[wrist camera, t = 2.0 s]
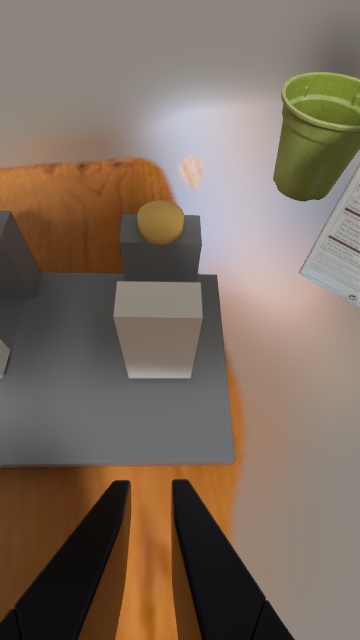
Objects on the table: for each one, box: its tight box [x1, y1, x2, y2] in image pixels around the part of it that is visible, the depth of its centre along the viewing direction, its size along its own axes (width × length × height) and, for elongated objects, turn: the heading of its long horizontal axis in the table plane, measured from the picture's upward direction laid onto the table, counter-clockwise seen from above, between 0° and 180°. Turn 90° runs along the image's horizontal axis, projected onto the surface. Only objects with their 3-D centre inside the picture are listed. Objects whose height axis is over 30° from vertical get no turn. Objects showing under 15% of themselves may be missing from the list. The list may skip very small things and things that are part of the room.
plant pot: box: [273, 72, 360, 201], centre depth 31 cm, size 9×9×9 cm
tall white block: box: [113, 281, 203, 378], centre depth 18 cm, size 2×4×8 cm, turn 91°
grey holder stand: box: [0, 200, 235, 468], centre depth 20 cm, size 14×19×8 cm
